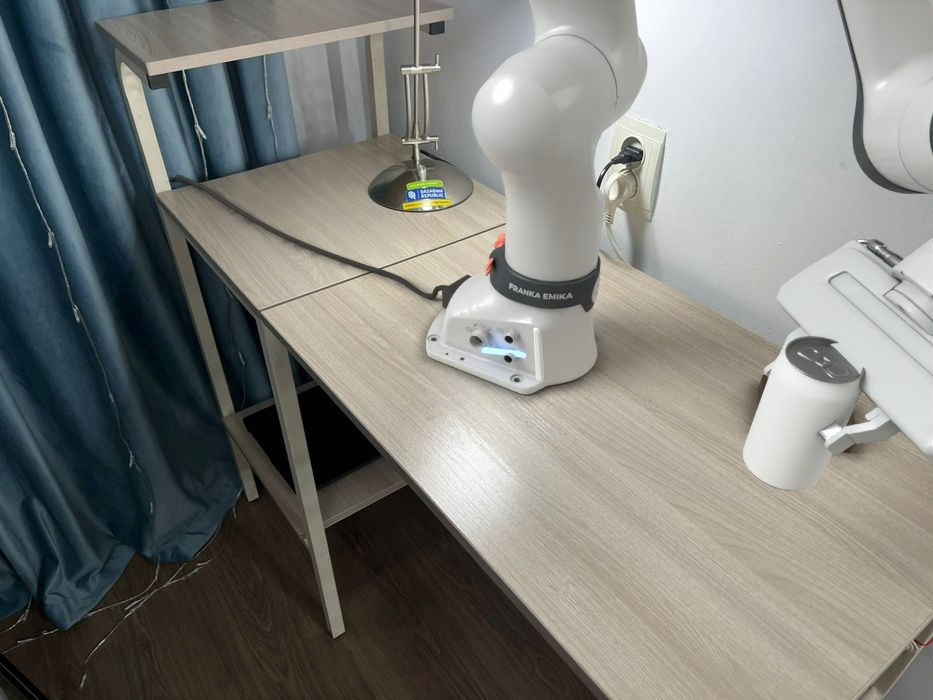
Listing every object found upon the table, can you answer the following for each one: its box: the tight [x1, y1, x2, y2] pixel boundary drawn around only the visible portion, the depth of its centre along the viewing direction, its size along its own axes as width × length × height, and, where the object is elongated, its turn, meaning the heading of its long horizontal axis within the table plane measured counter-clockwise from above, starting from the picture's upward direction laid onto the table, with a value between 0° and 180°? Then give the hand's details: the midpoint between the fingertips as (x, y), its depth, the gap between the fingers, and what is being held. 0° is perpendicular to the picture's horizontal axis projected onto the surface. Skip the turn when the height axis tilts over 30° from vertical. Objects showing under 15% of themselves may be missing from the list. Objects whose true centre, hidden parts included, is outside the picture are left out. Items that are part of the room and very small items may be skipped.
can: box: [742, 336, 865, 492], centre depth 56 cm, size 6×6×12 cm
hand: (796, 411), depth 56 cm, fingers closed on can, 6 cm apart
